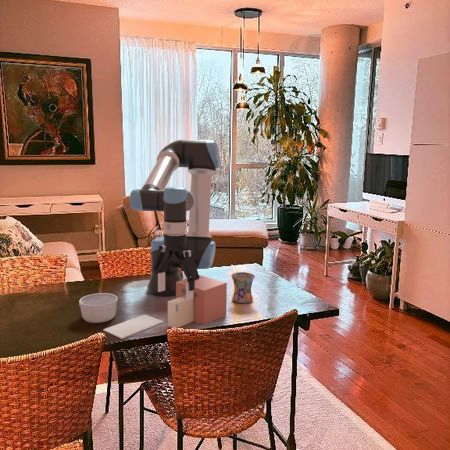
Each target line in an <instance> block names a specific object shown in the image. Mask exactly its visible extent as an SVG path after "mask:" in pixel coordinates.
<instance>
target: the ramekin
mask: <svg viewBox="0 0 450 450" xmlns="http://www.w3.org/2000/svg"><path fill="white" fill-rule="evenodd" d="M78 305H79V307H80V313H81V317H82V318H83V320H84V321H85V322H87V323H92V324H96V323H97V324H98V323H99V324H100V323H105V322H109V321H110V320H111V321H112V319H114V318H115V316H116V314H117V307H118V296H117V295H115V294H113V293H108V292H98V293H92V294H88V295H85V296H82V297H81V298H80V299H79V301H78Z"/></svg>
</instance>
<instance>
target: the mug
mask: <svg viewBox="0 0 450 450" xmlns="http://www.w3.org/2000/svg"><path fill="white" fill-rule="evenodd" d="M230 277H231V279H232V281H233V285H234V287H233V288H234V289H233V295H232V298H231V299H232V301H233V302H234V303H238V304H248V303H250V302H252V301H254V297H253V295H252V285H253V281H254V279H255V277H256V276H255V274H253V273H251V272H245V271H240V272H239V271H238V272H234V273H232V274H231V276H230Z"/></svg>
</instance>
